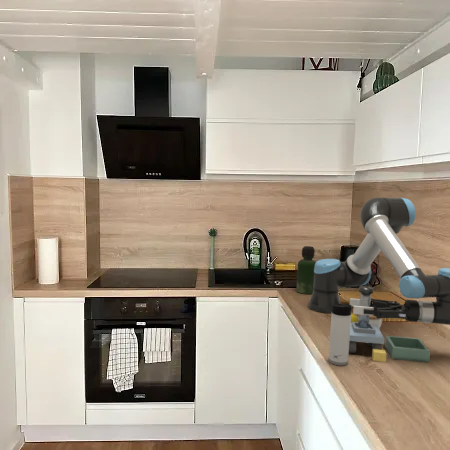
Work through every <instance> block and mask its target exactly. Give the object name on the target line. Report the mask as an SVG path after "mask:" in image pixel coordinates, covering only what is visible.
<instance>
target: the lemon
mask: <svg viewBox="0 0 450 450" xmlns="http://www.w3.org/2000/svg"><path fill="white" fill-rule="evenodd" d="M352 322H357V318H356V316H355V314H353V312H351V323H352Z"/></svg>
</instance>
